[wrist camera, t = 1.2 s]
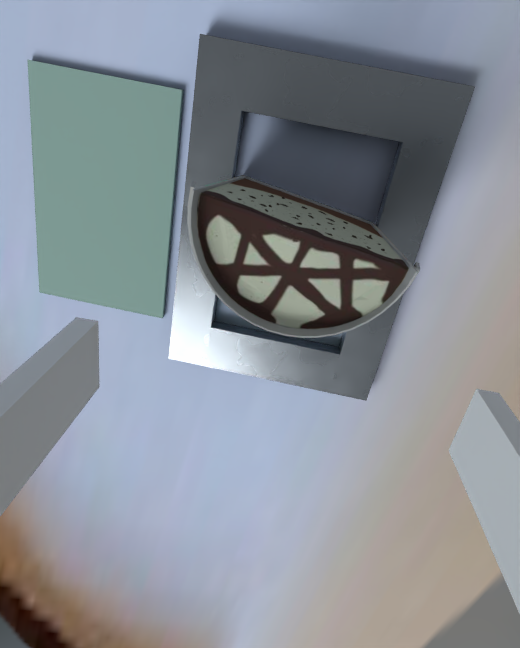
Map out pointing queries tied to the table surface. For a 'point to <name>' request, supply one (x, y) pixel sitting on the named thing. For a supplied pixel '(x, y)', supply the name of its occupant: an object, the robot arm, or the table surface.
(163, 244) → the pad
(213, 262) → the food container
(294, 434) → the table surface
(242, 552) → the table surface
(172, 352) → the grey rectangular frame
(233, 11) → the table surface
